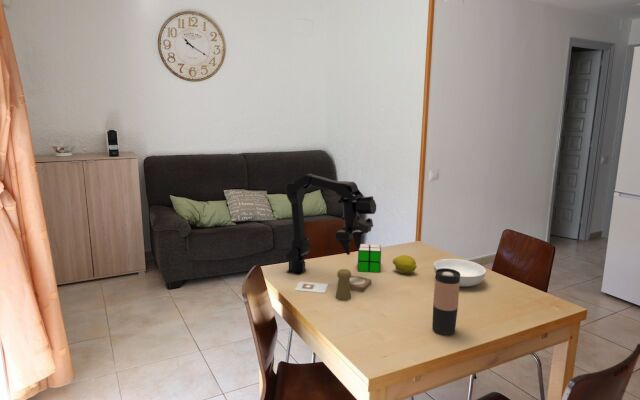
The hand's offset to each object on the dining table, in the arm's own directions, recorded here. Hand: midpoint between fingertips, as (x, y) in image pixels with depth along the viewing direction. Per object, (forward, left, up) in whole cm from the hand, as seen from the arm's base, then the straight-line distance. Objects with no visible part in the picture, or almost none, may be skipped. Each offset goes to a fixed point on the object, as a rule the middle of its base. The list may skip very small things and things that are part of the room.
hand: (353, 251), depth 178 cm
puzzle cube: (0, +21, -14) cm, 26 cm away
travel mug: (+41, -23, -14) cm, 49 cm away
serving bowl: (+39, +23, -14) cm, 47 cm away
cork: (+2, -14, -14) cm, 20 cm away
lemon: (+16, +23, -14) cm, 32 cm away
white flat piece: (-13, -11, -14) cm, 22 cm away
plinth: (+2, -1, -14) cm, 14 cm away
